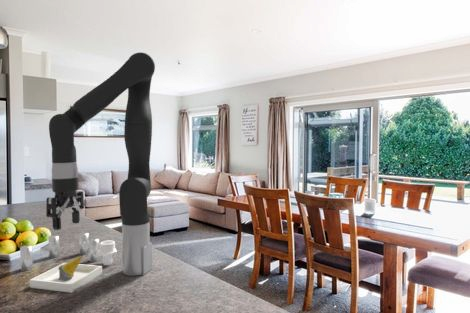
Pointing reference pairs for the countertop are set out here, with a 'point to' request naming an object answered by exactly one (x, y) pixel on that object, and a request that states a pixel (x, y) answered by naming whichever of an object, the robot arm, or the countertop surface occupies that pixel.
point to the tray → (69, 285)
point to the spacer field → (84, 248)
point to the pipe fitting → (107, 251)
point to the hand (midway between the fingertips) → (67, 226)
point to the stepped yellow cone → (68, 269)
